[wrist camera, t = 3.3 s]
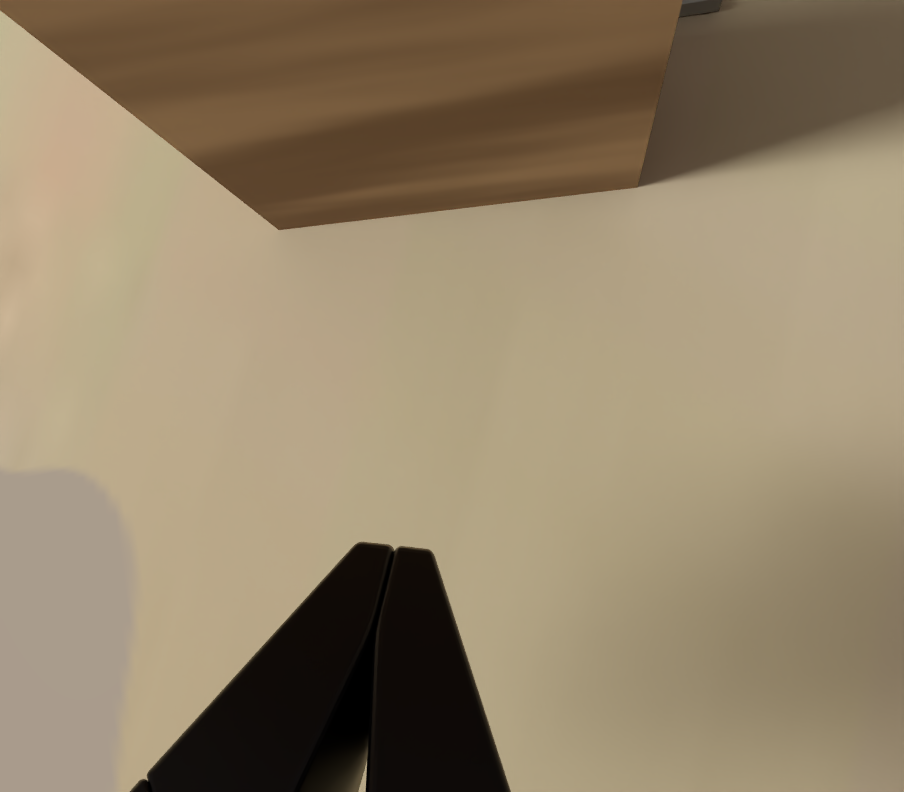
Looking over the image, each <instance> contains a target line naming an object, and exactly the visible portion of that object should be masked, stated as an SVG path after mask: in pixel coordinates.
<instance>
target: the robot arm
mask: <svg viewBox="0 0 904 792" xmlns="http://www.w3.org/2000/svg"><path fill="white" fill-rule="evenodd" d="M366 761H367V777H366V792H511V791H510V788H509V785H508V782H507V779H506V776H505V773H504V770H503V766H502V763H501V760H500V757H499V754H498V751H497V748H496V745H495V742H494V739H493V735H492V732H491V729H490V726H489V723H488V720H487V717H486V714H485V711H484V708H483V705H482V701H481V698H480V695H479V692H478V689H477V686H476V683H475V680H474V677H473V674H472V670H471V667H470V664H469V661H468V658H467V655H466V652H465V649H464V646H463V643H462V640H461V636H460V633H459V630H458V627H457V624H456V621H455V618H454V615H453V612H452V609H451V606H450V602H449V599H448V596H447V593H446V590H445V587H444V584H443V581H442V578H441V575H440V571H439V568H438V565H437V562H436V559H435V556H434V554H433V553H432V551H431V550H429V549H422V548H413V547H405V546H400V547H398V548H397V549H396V550H395V551H394V549H393V547H392V546H390V545H387V544H378V543H368V542H359V543H357V544H355V545H354V546H353V547H352V548H351V549H350V551H349V552H348V553H347V554H346V555H345V556H344V557H343V558H342V559H341V560H340V562H339V563H338V564H337V565H336V566H335V567H334V568H333V569H332V570H331V571H330V573H329V574H328V575H327V576H326V577H325V578H324V579H323V580H322V581H321V582H320V584H319V585H318V586H317V587H316V588H315V589H314V590H313V591H312V592H311V593H310V595H309V596H308V597H307V598H306V599H305V600H304V601H303V602H302V603H301V604H300V606H299V607H298V608H297V609H296V610H295V611H294V612H293V613H292V614H291V615H290V617H289V618H288V619H287V620H286V621H285V622H284V623H283V624H282V625H281V626H280V627H279V629H278V630H277V631H276V632H275V633H274V634H273V635H272V636H271V637H270V638H269V640H268V641H267V642H266V643H265V644H264V645H263V646H262V647H261V648H260V649H259V651H258V652H257V653H256V654H255V655H254V656H253V657H252V658H251V659H250V660H249V662H248V663H247V664H246V665H245V666H244V667H243V668H242V669H241V670H240V671H239V673H238V674H237V675H236V676H235V677H234V678H233V679H232V680H231V681H230V682H229V684H228V685H227V686H226V687H225V688H224V689H223V690H222V691H221V692H220V693H219V695H218V696H217V697H216V698H215V699H214V700H213V701H212V702H211V703H210V704H209V706H208V707H207V708H206V709H205V710H204V711H203V712H202V713H201V714H200V715H199V717H198V718H197V719H196V720H195V721H194V722H193V723H192V724H191V725H190V726H189V728H188V729H187V730H186V731H185V732H184V733H183V734H182V735H181V736H180V737H179V739H178V740H177V741H176V742H175V743H174V744H173V745H172V746H171V747H170V748H169V750H168V751H167V752H166V753H165V754H164V755H163V756H162V757H161V758H160V759H159V761H158V762H157V763H156V764H155V765H154V766H153V767H152V768H151V769H150V770H149V772H148V773H147V779H148V781H147V780H145V779H142V780H140V781H139V782H138V783H137V784H136V785H135V786H134V787H133V789H132V790H131V791H130V792H358V790H359V787H360V783H361V780H362V776H363V773H364V769H365V765H366Z"/></svg>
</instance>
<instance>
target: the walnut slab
mask: <svg viewBox="0 0 904 792" xmlns="http://www.w3.org/2000/svg"><path fill="white" fill-rule="evenodd" d="M682 1H683V0H0V10H1V11H2V12H3V13H4V14H6V15H7V16H8V17H10V18H11V19H12V20H13V21H15V22H16V23H17V24H18V25H20V26H21V27H22V28H24V29H25V30H26V31H27V32H29V33H30V34H31V35H32V36H34V37H35V38H36V39H37V40H39V41H40V42H41V43H43V44H44V45H45V46H46V47H48V48H49V49H50V50H51V51H53V52H54V53H55V54H56V55H58V56H59V57H60V58H62V59H63V60H64V61H65V62H67V63H68V64H69V65H70V66H72V67H73V68H74V69H75V70H77V71H78V72H79V73H81V74H82V75H83V76H84V77H86V78H87V79H88V80H89V81H91V82H92V83H93V84H94V85H96V86H97V87H98V88H100V89H101V90H102V91H103V92H105V93H106V94H107V95H108V96H110V97H111V98H112V99H114V100H115V101H116V102H117V103H119V104H120V105H121V106H122V107H124V108H125V109H126V110H127V111H129V112H130V113H131V114H133V115H134V116H135V117H136V118H138V119H139V120H140V121H141V122H143V123H144V124H145V125H146V126H148V127H149V128H150V129H152V130H153V131H154V132H155V133H157V134H158V135H159V136H160V137H162V138H163V139H164V140H165V141H167V142H168V143H169V144H171V145H172V146H173V147H174V148H176V149H177V150H178V151H179V152H181V153H182V154H183V155H184V156H186V157H187V158H188V159H190V160H191V161H192V162H193V163H195V164H196V165H197V166H198V167H200V168H201V169H202V170H204V171H205V172H206V173H207V174H209V175H210V176H211V177H212V178H214V179H215V180H216V181H217V182H219V183H220V184H221V185H223V186H224V187H225V188H226V189H228V190H229V191H230V192H231V193H233V194H234V195H235V196H236V197H238V198H239V199H240V200H242V201H243V202H244V203H245V204H247V205H248V206H249V207H250V208H252V209H253V210H254V211H255V212H257V213H258V214H259V215H261V216H262V217H263V218H264V219H266V220H267V221H268V222H269V223H271V224H272V225H273V226H274V227H276V228H277V229H278V230H283V229H291V228H300V227H308V226H317V225H325V224H333V223H342V222H350V221H359V220H367V219H376V218H384V217H392V216H401V215H409V214H418V213H426V212H434V211H443V210H451V209H460V208H468V207H477V206H485V205H493V204H502V203H510V202H519V201H527V200H535V199H544V198H552V197H561V196H569V195H578V194H586V193H594V192H603V191H611V190H620V189H628V188H636V187H638V183H639V179H640V175H641V170H642V166H643V162H644V158H645V154H646V150H647V146H648V142H649V137H650V133H651V129H652V125H653V121H654V117H655V113H656V108H657V104H658V100H659V96H660V92H661V88H662V84H663V79H664V75H665V71H666V67H667V63H668V59H669V55H670V50H671V46H672V42H673V38H674V34H675V30H676V26H677V21H678V17H679V13H680V9H681V5H682Z"/></svg>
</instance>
